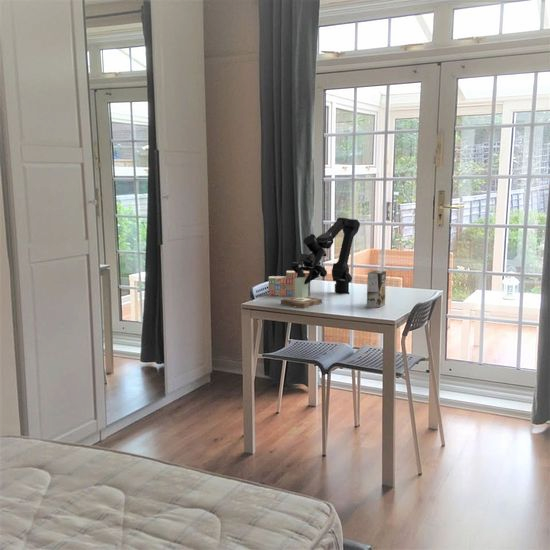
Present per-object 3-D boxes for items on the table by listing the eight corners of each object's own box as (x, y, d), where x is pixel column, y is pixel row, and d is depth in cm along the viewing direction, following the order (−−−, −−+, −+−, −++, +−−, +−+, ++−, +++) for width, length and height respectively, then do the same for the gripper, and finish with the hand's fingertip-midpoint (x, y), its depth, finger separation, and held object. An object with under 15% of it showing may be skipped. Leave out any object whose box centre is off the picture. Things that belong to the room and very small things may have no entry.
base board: (299, 299, 304) (299, 295, 303) (321, 303, 295) (321, 298, 294) (280, 304, 293) (280, 299, 293) (303, 308, 284) (303, 303, 284)
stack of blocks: (268, 296, 313) (268, 272, 311) (269, 293, 319) (268, 270, 317) (310, 296, 312) (310, 272, 310) (310, 293, 318) (310, 270, 316)
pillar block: (300, 295, 297) (300, 277, 295) (308, 296, 294) (308, 278, 292) (294, 296, 293) (294, 278, 292) (302, 298, 290) (302, 279, 289)
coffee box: (379, 308, 284) (380, 273, 281) (366, 306, 287) (367, 272, 284) (385, 304, 292) (386, 270, 289) (372, 303, 295) (373, 269, 292)
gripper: (292, 245, 299) (278, 271, 293) (323, 248, 287) (308, 275, 281) (303, 259, 306) (288, 284, 300) (333, 263, 294) (319, 289, 288)
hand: (300, 283), depth 292 cm, fingers closed on pillar block, 4 cm apart
